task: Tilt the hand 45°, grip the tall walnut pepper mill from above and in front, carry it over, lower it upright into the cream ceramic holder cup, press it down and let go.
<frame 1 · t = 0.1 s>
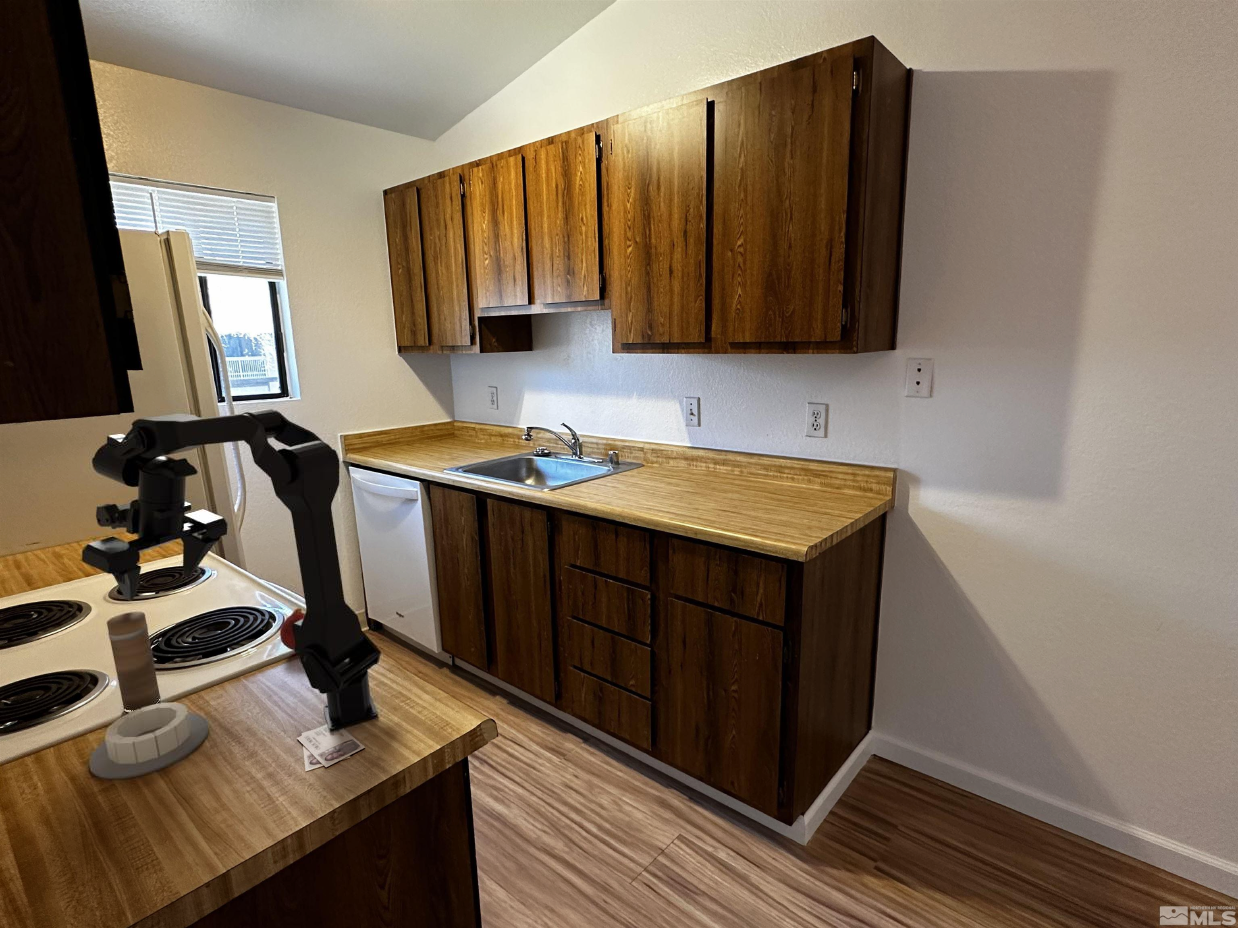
hand: (159, 587, 99), 15 cm above the worktop, tool pointing down, fingers open, 9 cm apart
pepper mill: (142, 704, 94), on the worktop
onion: (301, 652, 109), on the worktop
holder cup: (152, 745, 85), on the worktop
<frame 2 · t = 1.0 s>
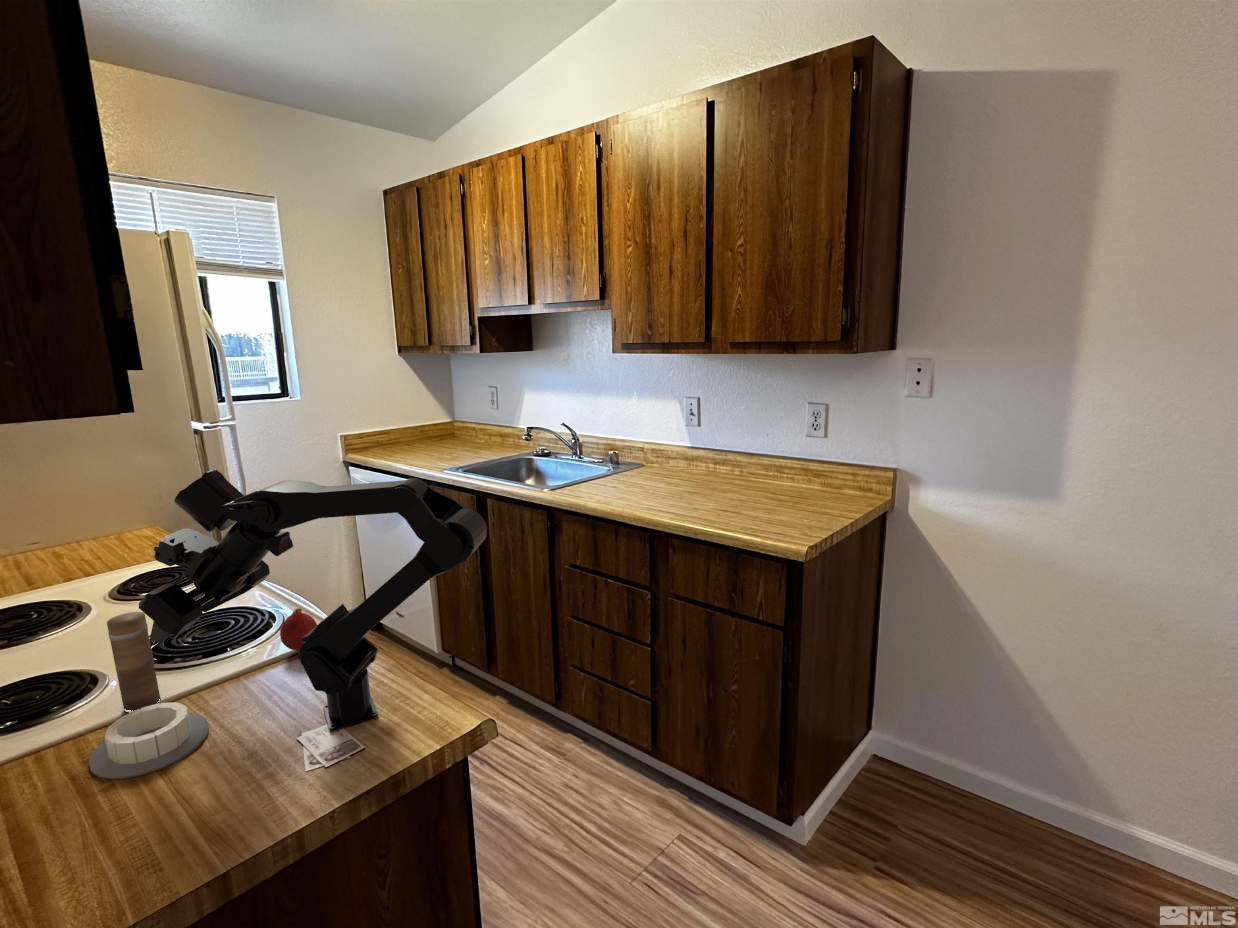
hand: (179, 624, 91), 13 cm above the worktop, tool tilted 45°, fingers open, 9 cm apart
nothing on the worktop moved.
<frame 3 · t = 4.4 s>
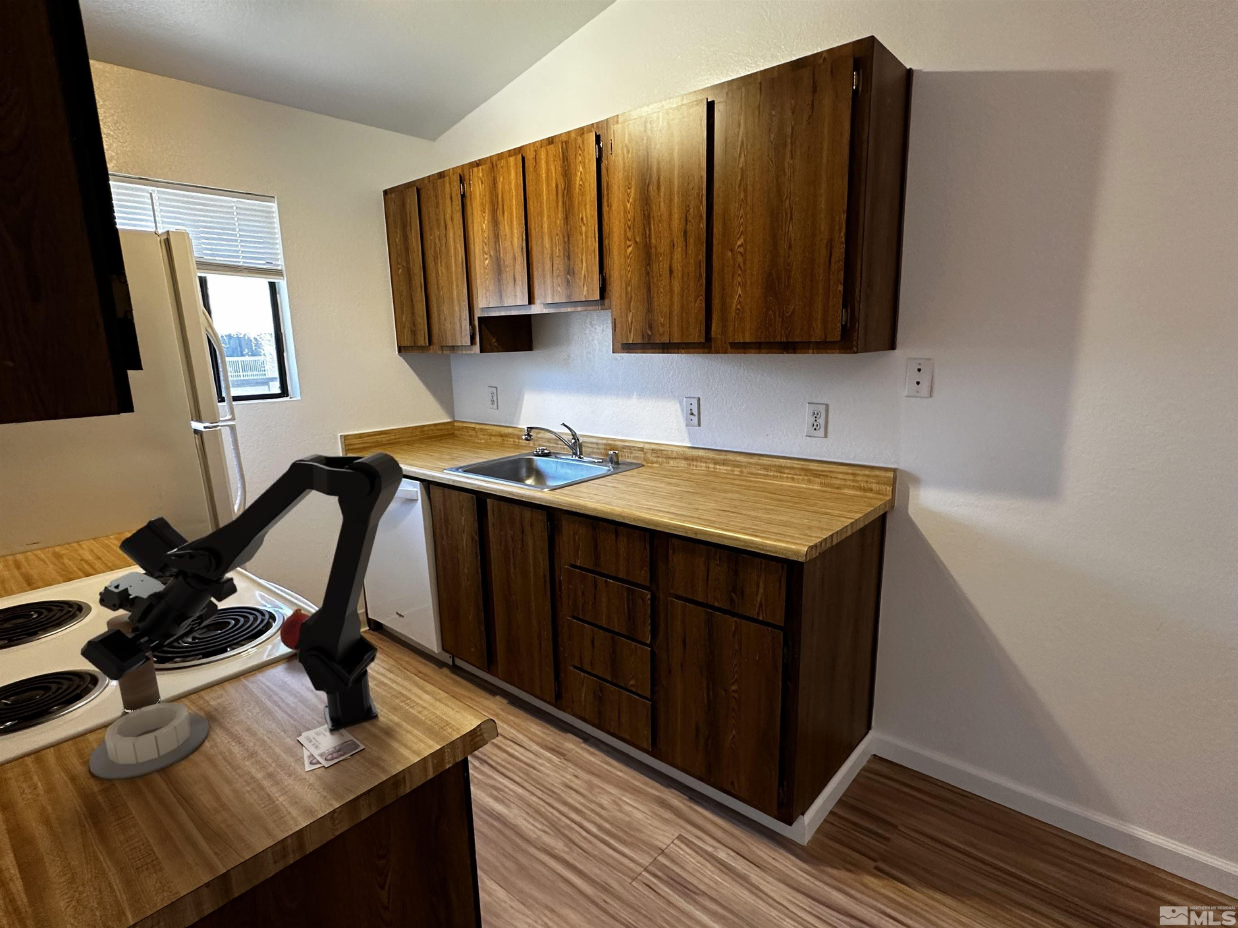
hand: (126, 664, 93), 7 cm above the worktop, tool tilted 45°, fingers closed on pepper mill, 4 cm apart
pepper mill: (142, 704, 94), on the worktop, touching gripper
everything else where it was.
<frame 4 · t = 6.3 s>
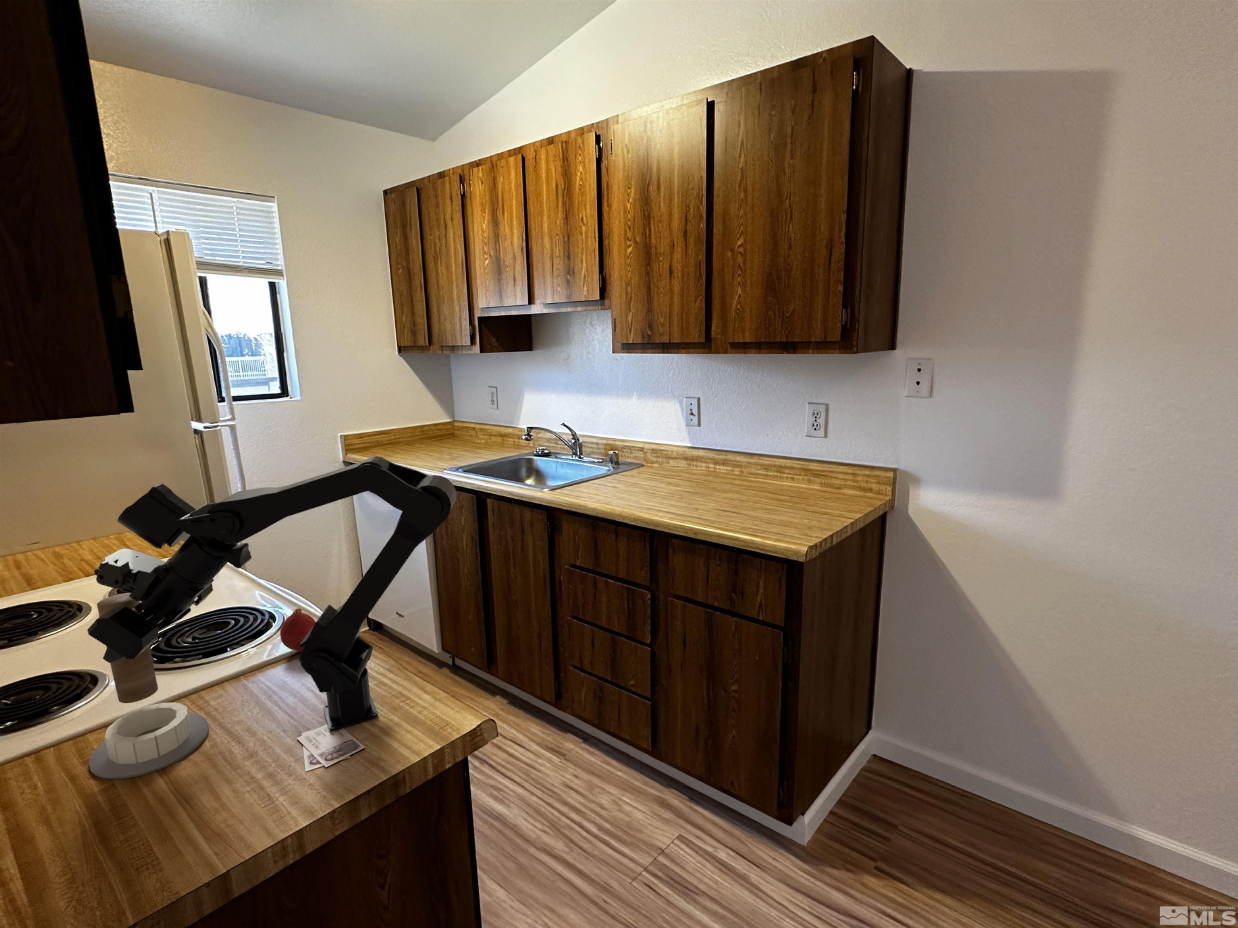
hand: (118, 651, 85), 12 cm above the worktop, tool tilted 45°, fingers closed on pepper mill, 4 cm apart
pepper mill: (138, 693, 87), point 6 cm above the worktop, touching gripper
everything else where it was.
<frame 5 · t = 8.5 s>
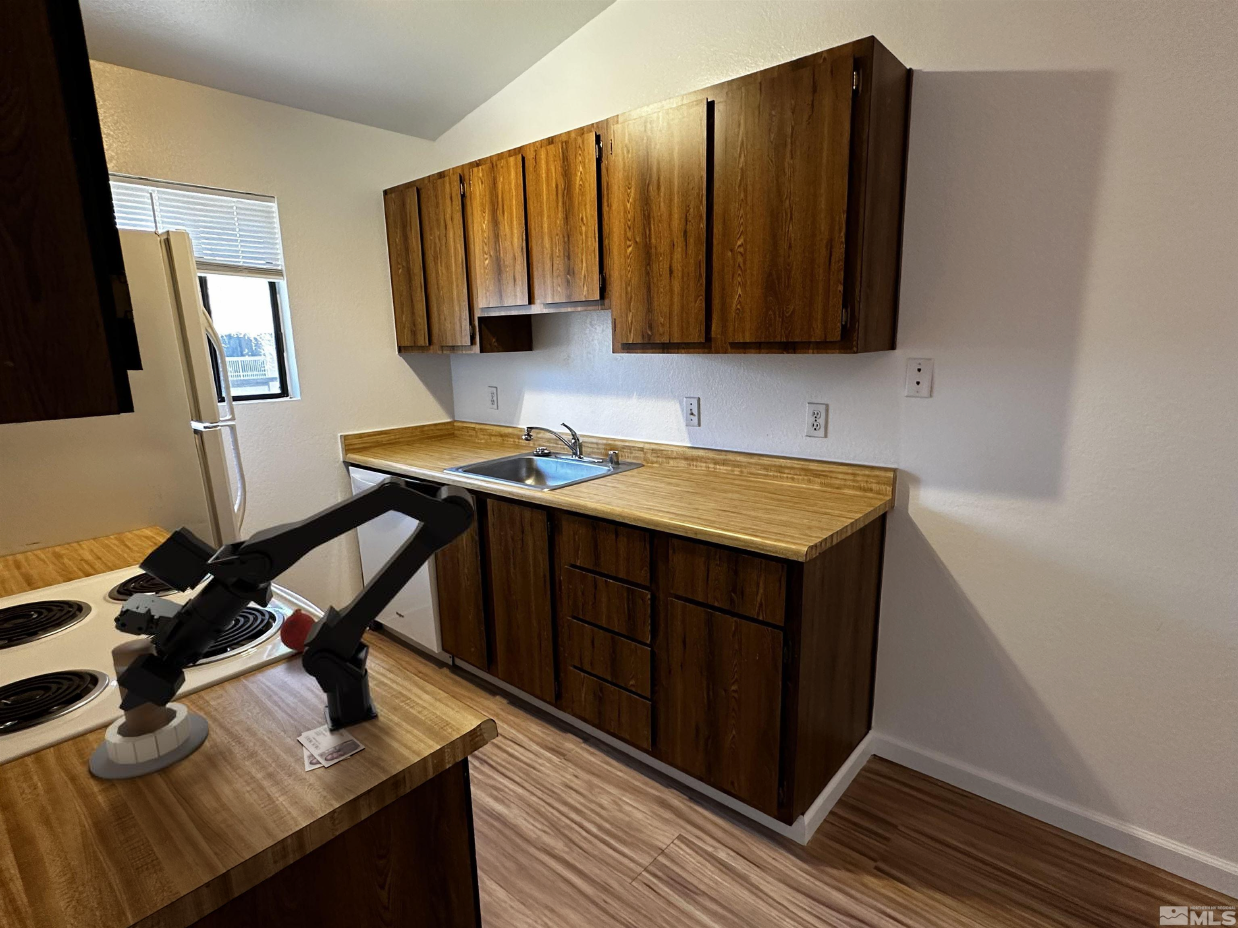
hand: (131, 698, 83), 7 cm above the worktop, tool tilted 45°, fingers closed on pepper mill, 4 cm apart
pepper mill: (151, 740, 85), point 1 cm above the worktop, touching gripper
everything else where it was.
when the fingers open (7 cm above the worktop, at t = 8.5 s): pepper mill stays where it is, resting on holder cup.
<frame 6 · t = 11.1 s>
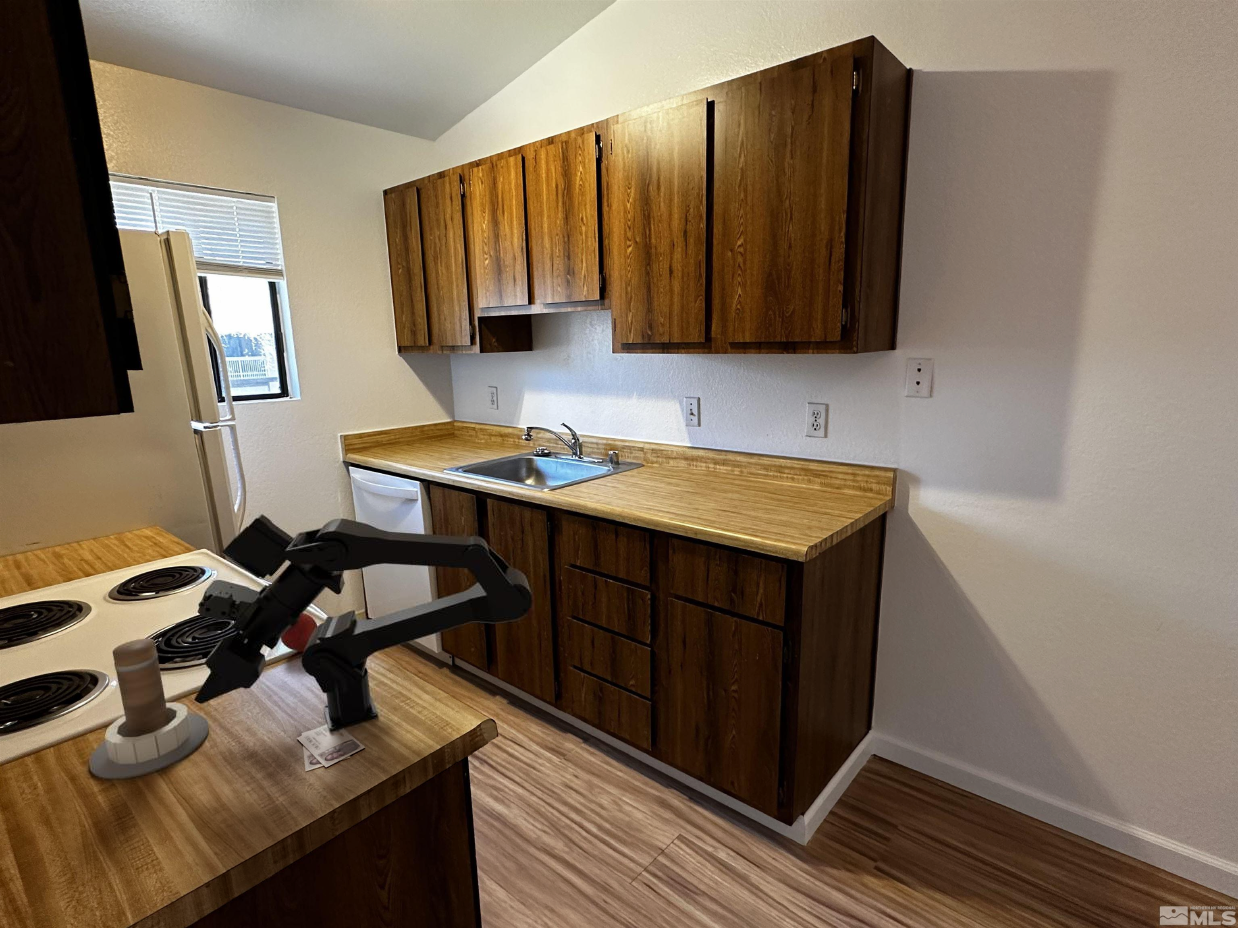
hand: (209, 682, 85), 8 cm above the worktop, tool tilted 45°, fingers open, 9 cm apart
pepper mill: (151, 741, 85), point 1 cm above the worktop, touching holder cup
everything else where it was.
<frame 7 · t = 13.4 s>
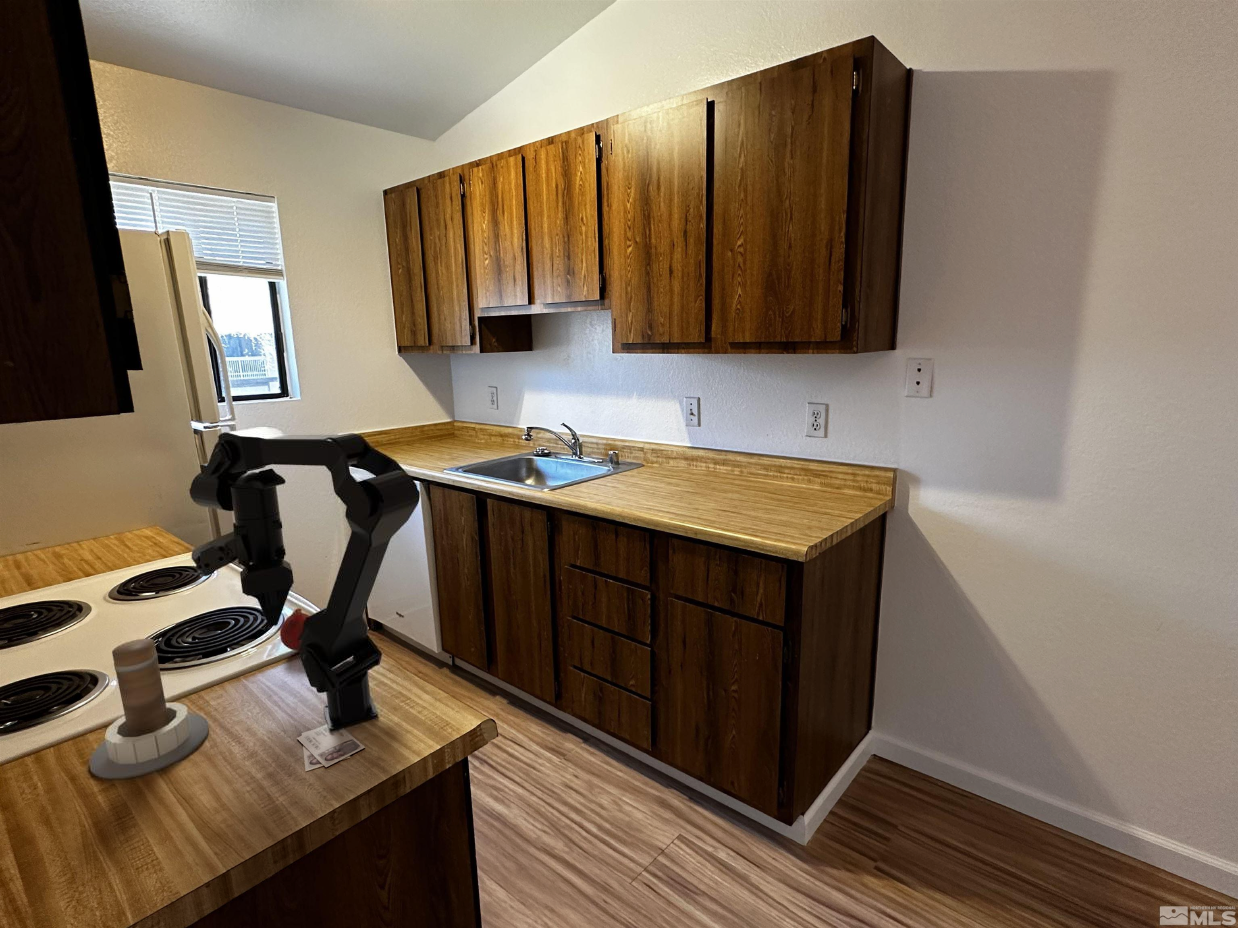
hand: (270, 613, 95), 13 cm above the worktop, tool pointing down, fingers open, 9 cm apart
nothing on the worktop moved.
at the end: pepper mill 0.1 cm off-centre on the holder cup, point 0.6 cm above the holder cup's base; pepper mill tilted 0°; the gripper is holding nothing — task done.
